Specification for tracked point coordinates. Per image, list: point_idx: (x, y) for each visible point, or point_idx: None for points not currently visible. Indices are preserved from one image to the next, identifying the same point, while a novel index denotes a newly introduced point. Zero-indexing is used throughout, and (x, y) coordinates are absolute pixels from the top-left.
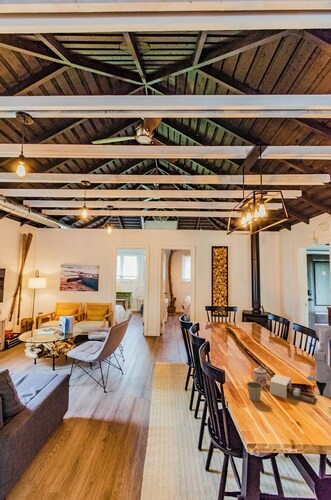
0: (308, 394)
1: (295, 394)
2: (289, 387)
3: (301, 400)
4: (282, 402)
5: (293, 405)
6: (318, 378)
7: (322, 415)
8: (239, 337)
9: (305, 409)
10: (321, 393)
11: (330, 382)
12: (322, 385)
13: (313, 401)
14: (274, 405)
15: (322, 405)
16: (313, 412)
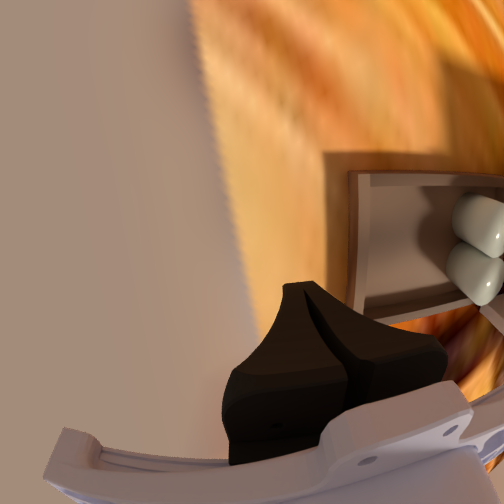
0: (400, 312)
1: (490, 199)
2: (499, 308)
3: (437, 171)
4: (500, 69)
5: (452, 53)
6: (470, 489)
7: (226, 6)
8: (488, 470)
9: (373, 26)
10: (300, 289)
11: (109, 489)
12: (305, 367)
13: (355, 201)
14: (500, 13)
15: (270, 214)
16: (305, 9)
